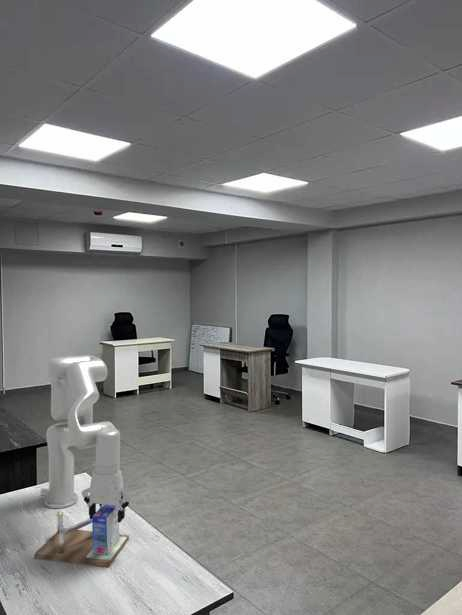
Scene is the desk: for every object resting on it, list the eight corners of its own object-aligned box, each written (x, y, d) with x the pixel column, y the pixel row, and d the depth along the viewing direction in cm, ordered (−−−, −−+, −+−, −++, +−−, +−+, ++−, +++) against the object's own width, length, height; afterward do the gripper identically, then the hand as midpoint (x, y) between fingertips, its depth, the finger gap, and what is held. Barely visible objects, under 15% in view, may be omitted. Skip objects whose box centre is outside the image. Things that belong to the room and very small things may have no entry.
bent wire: (37, 550, 147) (37, 529, 147) (58, 530, 160) (58, 510, 160) (81, 555, 145) (81, 534, 144) (99, 534, 157) (99, 514, 157)
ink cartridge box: (104, 537, 155) (104, 495, 154) (119, 538, 154) (120, 496, 154) (91, 553, 145) (91, 508, 145) (107, 555, 144) (108, 510, 144)
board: (34, 558, 146) (34, 552, 146) (61, 532, 161) (61, 526, 161) (109, 567, 142) (109, 561, 142) (128, 539, 157) (128, 534, 157)
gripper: (76, 469, 146) (76, 521, 147) (128, 474, 144) (127, 528, 145) (87, 460, 154) (87, 510, 155) (137, 465, 151) (136, 516, 152)
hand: (106, 518), depth 150 cm, fingers open, 9 cm apart
